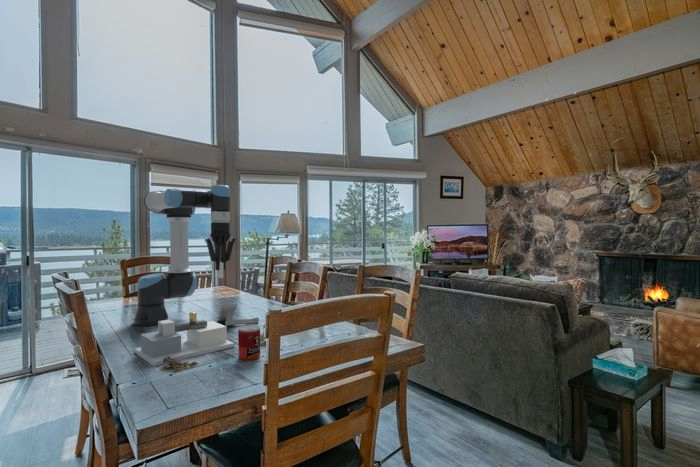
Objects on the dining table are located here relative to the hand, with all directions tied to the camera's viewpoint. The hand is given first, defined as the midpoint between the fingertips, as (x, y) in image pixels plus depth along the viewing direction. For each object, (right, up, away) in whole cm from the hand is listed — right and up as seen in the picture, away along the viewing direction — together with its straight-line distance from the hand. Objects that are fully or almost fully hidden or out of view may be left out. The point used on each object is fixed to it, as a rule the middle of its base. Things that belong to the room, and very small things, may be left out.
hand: (220, 277), depth 166 cm
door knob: (+19, -26, -6) cm, 33 cm away
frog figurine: (-4, -28, -33) cm, 43 cm away
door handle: (0, -26, +26) cm, 37 cm away
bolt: (-7, -18, -13) cm, 24 cm away
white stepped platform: (-9, -26, -15) cm, 31 cm away
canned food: (+18, -27, -23) cm, 40 cm away
